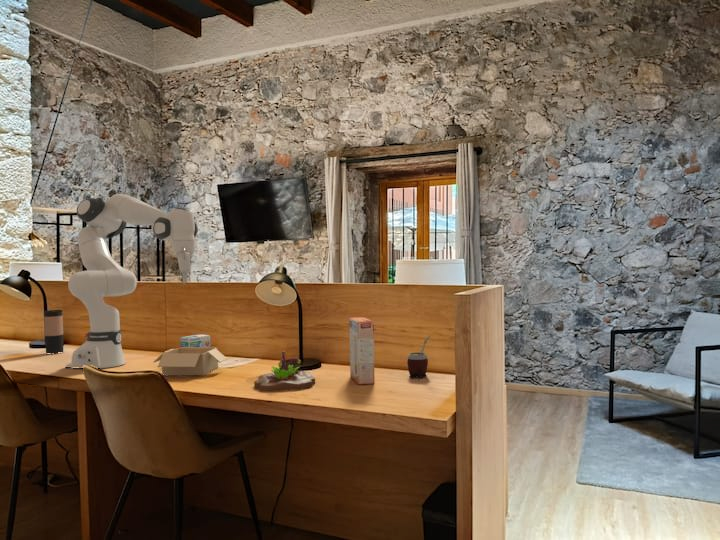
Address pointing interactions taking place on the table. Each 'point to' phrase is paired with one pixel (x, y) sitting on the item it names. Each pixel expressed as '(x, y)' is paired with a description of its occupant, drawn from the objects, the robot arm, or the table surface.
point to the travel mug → (53, 331)
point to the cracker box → (362, 350)
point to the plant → (285, 378)
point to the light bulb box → (195, 341)
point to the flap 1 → (179, 360)
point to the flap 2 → (217, 355)
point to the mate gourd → (418, 363)
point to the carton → (202, 366)
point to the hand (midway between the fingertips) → (184, 283)
